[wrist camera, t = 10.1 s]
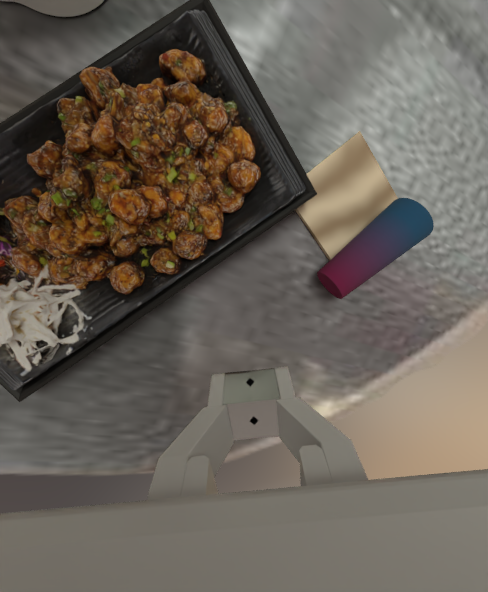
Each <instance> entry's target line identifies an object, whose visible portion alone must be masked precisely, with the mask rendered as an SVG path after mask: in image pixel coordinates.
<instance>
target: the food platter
mask: <svg viewBox="0 0 488 592" xmlns="http://www.w3.org/2000/svg"><path fill="white" fill-rule="evenodd" d="M316 195H317V192H316V191H315V189H314V187H313V185H312V183H311V182H310V180H309V178H308V176H307V175H306V173H305V171H304V169H303V167H302V166H301V164H300V162H299V160H298V158H297V157H296V155H295V153H294V151H293V149H292V148H291V146H290V144H289V142H288V140H287V139H286V137H285V135H284V133H283V131H282V130H281V128H280V126H279V124H278V122H277V121H276V119H275V117H274V115H273V113H272V112H271V110H270V108H269V106H268V105H267V103H266V101H265V99H264V97H263V96H262V94H261V92H260V90H259V88H258V87H257V85H256V83H255V81H254V79H253V78H252V76H251V74H250V72H249V70H248V69H247V67H246V65H245V63H244V61H243V60H242V58H241V56H240V54H239V52H238V51H237V49H236V47H235V45H234V43H233V42H232V40H231V38H230V36H229V35H228V33H227V31H226V29H225V27H224V26H223V24H222V22H221V20H220V18H219V17H218V15H217V13H216V11H215V9H214V8H213V6H212V4H211V2H210V0H189V1H188V2H186V3H185V4H183V5H182V6H180V7H178V8H177V9H175V10H174V11H172V12H171V13H169V14H168V15H166V16H165V17H163V18H162V19H160V20H158V21H157V22H155V23H154V24H152V25H151V26H149V27H148V28H146V29H145V30H143V31H142V32H140V33H139V34H137V35H135V36H134V37H132V38H131V39H129V40H128V41H126V42H125V43H123V44H122V45H120V46H119V47H117V48H115V49H114V50H112V51H111V52H109V53H108V54H106V55H105V56H103V57H102V58H100V59H99V60H97V61H96V62H94V63H92V64H91V65H89V66H88V67H86V68H85V69H83V70H82V71H80V72H79V73H77V74H76V75H74V76H72V77H71V78H69V79H68V80H66V81H65V82H63V83H62V84H60V85H59V86H57V87H56V88H54V89H53V90H51V91H49V92H48V93H46V94H45V95H43V96H42V97H40V98H39V99H37V100H36V101H34V102H33V103H31V104H29V105H28V106H26V107H25V108H23V109H22V110H20V111H19V112H17V113H16V114H14V115H13V116H11V117H10V118H8V119H6V120H5V121H3V122H2V123H0V384H1V385H2V386H3V387H4V388H5V389H6V390H7V391H8V392H9V393H11V394H12V395H13V396H14V397H15V398H16V399H17V400H18V401H19V402H20V401H22V400H24V399H25V398H26V397H28V396H29V395H31V394H32V393H34V392H35V391H36V390H38V389H39V388H41V387H42V386H44V385H45V384H47V383H48V382H49V381H51V380H52V379H54V378H55V377H57V376H58V375H59V374H61V373H62V372H64V371H65V370H67V369H68V368H69V367H71V366H72V365H74V364H75V363H77V362H78V361H79V360H81V359H82V358H84V357H85V356H87V355H88V354H89V353H91V352H92V351H94V350H95V349H97V348H98V347H100V346H101V345H102V344H104V343H105V342H107V341H108V340H110V339H111V338H112V337H114V336H115V335H117V334H118V333H120V332H121V331H122V330H124V329H125V328H127V327H128V326H130V325H131V324H132V323H134V322H135V321H137V320H138V319H140V318H141V317H143V316H144V315H145V314H147V313H148V312H150V311H151V310H153V309H154V308H155V307H157V306H158V305H160V304H161V303H163V302H164V301H165V300H167V299H168V298H170V297H171V296H173V295H174V294H175V293H177V292H178V291H180V290H181V289H183V288H184V287H185V286H187V285H188V284H190V283H191V282H193V281H194V280H196V279H197V278H198V277H200V276H201V275H203V274H204V273H206V272H207V271H208V270H210V269H211V268H213V267H214V266H216V265H217V264H218V263H220V262H221V261H223V260H224V259H226V258H227V257H228V256H230V255H231V254H233V253H234V252H236V251H237V250H238V249H240V248H241V247H243V246H244V245H246V244H247V243H249V242H250V241H251V240H253V239H254V238H256V237H257V236H259V235H260V234H261V233H263V232H264V231H266V230H267V229H269V228H270V227H271V226H273V225H274V224H276V223H277V222H279V221H280V220H281V219H283V218H284V217H286V216H287V215H289V214H290V213H291V212H293V211H294V210H296V209H297V208H299V207H300V206H302V205H303V204H304V203H306V202H307V201H309V200H310V199H312V198H313V197H314V196H316Z"/></svg>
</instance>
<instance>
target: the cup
mask: <svg viewBox="0 0 488 592" xmlns="http://www.w3.org/2000/svg"><path fill="white" fill-rule="evenodd" d="M432 230H433V220H432V217H431V215H430V213H429V212H428V211H427V210H426V208H424V207H423V206H422V205H421V204H420V203H418V202H416V201H414V200H412V199H408V198H399V199H396V200H394V201H393V202H392V203H391V204H390V205H389V206H388V207H387V208H386V209H385V210H383V211H382V212H381V213H380V214H379V215H378V216H377V217H376V218H375V219H374V220H373V221H372V222H371V223H370V224H369V225H367V226H366V227H365V228H364V229H363V230H362V231H361V232H360V233H359V234H358V235H357V236H356V237H355V238H354V239H352V240H351V241H350V242H349V243H348V244H347V245H346V246H345V247H344V248H343V249H342V250H341V251H340V252H339V253H337V254H336V255H335V256H334V257H333V258H332V259H331V260H330V261H329V262H328V263H327V264H326V265H325V266H324V267H322V268H321V269H320V270H319V271H318V272H317V276H318V278H319V280H320V281H321V283H322V284H323V286H324V287H325V288H326V289H327V290H328V291H329V292H330V293H331V294H332V295H334V296H335V297H337V298H339V299H342V298H343V297H345V296H346V295H347V294H349V293H350V292H351V291H353V290H354V289H356V288H357V287H358V286H360V285H361V284H362V283H364V282H365V281H367V280H368V279H369V278H371V277H372V276H373V275H375V274H376V273H378V272H379V271H380V270H382V269H383V268H384V267H386V266H387V265H389V264H390V263H391V262H393V261H394V260H395V259H397V258H398V257H400V256H401V255H402V254H404V253H405V252H406V251H408V250H409V249H410V248H412V247H413V246H415V245H416V244H417V243H419V242H420V241H421V240H423V239H424V238H426V237H427V236H428V235H430V233H431V232H432Z"/></svg>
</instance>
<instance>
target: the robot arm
mask: <svg viewBox="0 0 488 592" xmlns="http://www.w3.org/2000/svg"><path fill="white" fill-rule="evenodd" d="M0 1H8V2H17V3H20V4H23V5H25V6H27V7H29V8H32V9H34V10H36V11H39V12H41V13H44V14H48V15H52V16H59V17H72V16H78V15H82V14H85V13H87V12H90V11H91V10H93V9H95V8H96V7H98V6H99V5H100V4H101V3H102V2H103V1H104V0H0ZM277 436H279V437H280V439H281V440H282V441H283V443H284V444H285V445H286V446H287V448H288V449H289V450H290V451H291V453H292V454H293V455H294V457H295V458H296V459H297V460H298V462H299V463H300V476H301V477H300V479H301V486H300V487H288V488H278V489H267V490H256V491H244V492H233V493H222V494H219V493H218V490H217V486H216V482H215V479H214V478H215V476H216V474H217V472H218V470H219V469H220V467H221V465H222V463H223V461H224V460H225V458H226V456H227V454H228V452H229V450H230V449H231V447H232V445H233V443H234V441H236V440H244V439H252V438H256V437H257V438H262V437H277ZM0 592H488V469H484V470H473V471H463V472H451V473H442V474H429V475H418V476H407V477H396V478H385V479H374V480H368V478H367V476H366V473H365V471H364V469H363V466H362V464H361V462H360V460H359V457H358V455H357V452H356V450H355V448H354V445H353V443H352V441H351V440H350V439H349V438H348V437H347V436H345V435H344V434H343V433H342V432H341V431H339V430H338V429H337V428H336V427H335V426H333V425H332V424H331V423H330V422H329V421H327V420H326V419H325V418H324V417H323V416H321V415H320V414H319V413H318V412H317V411H315V410H314V409H313V408H312V407H311V406H309V405H308V404H307V403H306V402H305V401H303V400H302V399H301V398H296V396H295V392H294V388H293V385H292V381H291V377H290V373H289V369H288V367H287V366H285V367H277V368H270V369H262V370H253V371H242V372H230V373H220V374H213V375H212V377H211V383H210V390H209V397H208V405H207V407H203V408H202V410H201V411H200V412H199V413H198V414H197V415H196V416H195V418H194V419H193V420H192V421H191V422H190V423H189V424H188V425H187V427H186V428H185V429H184V430H183V431H182V432H181V433H180V435H179V436H178V437H177V438H176V439H175V440H174V441H173V443H172V444H171V445H170V446H169V447H168V448H167V449H166V451H165V452H164V453H163V454H162V455H161V456H160V457H159V459H158V462H157V466H156V469H155V473H154V476H153V479H152V483H151V486H150V490H149V493H148V497H147V500H145V501H135V502H123V503H113V504H101V505H90V506H79V507H69V508H58V509H47V510H36V511H25V512H14V513H3V514H0Z"/></svg>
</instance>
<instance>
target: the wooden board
mask: <svg viewBox="0 0 488 592" xmlns="http://www.w3.org/2000/svg"><path fill="white" fill-rule="evenodd" d="M306 175H307V176H308V178H309V180H310V182H311V183H312V185H313V187H314V189H315V191H316V192H317V195H316V196H314V197H313V198H312V199H310V200H309V201H307V202H306V203H304V204H303V205H302V206H300V207H299V208H297V209H296V210H295V211H296V212H297V214H298V215H299V217H300V218H301V220H302V221H303V223H304V224H305V225H306V227H307V228H308V230H309V231H310V233H311V234H312V236H313V237H314V239H315V240H316V242H317V243H318V245H319V246H320V248H321V249H322V250H323V252H324V253H325V255H326V256H327V258H328V259H329V261H330V260H331V259H332V258H333V257H334V256H335V255H336V254H337V253H339V252H340V251H341V250H342V249H343V248H344V247H345V246H346V245H347V244H348V243H349V242H350V241H351V240H352V239H354V238H355V237H356V236H357V235H358V234H359V233H360V232H361V231H362V230H363V229H364V228H365V227H366V226H367V225H369V224H370V223H371V222H372V221H373V220H374V219H375V218H376V217H377V216H378V215H379V214H380V213H381V212H382V211H383V210H385V209H386V208H387V207H388V206H389V205H390V204H391V203H392V202H393V201H394V200H396V199H398V198H397V196H396V194H395V193H394V191H393V189H392V187H391V186H390V184H389V182H388V180H387V178H386V177H385V175H384V173H383V171H382V170H381V168H380V166H379V164H378V163H377V161H376V159H375V157H374V156H373V154H372V152H371V150H370V148H369V147H368V145H367V143H366V141H365V140H364V138H363V136H362V134H361V133H360V131H359V132H358V133H357V134H356V135H354V136H353V137H352V138H351V139H349V140H348V141H347V142H346V143H344V144H343V145H342V146H341V147H339V148H338V149H337V150H336V151H334V152H333V153H332V154H331V155H329V156H328V157H327V158H326V159H324V160H323V161H322V162H321V163H319V164H318V165H317V166H316V167H315V168H313V169H312V170H311V171H310V172H308V173H307V174H306Z"/></svg>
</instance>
